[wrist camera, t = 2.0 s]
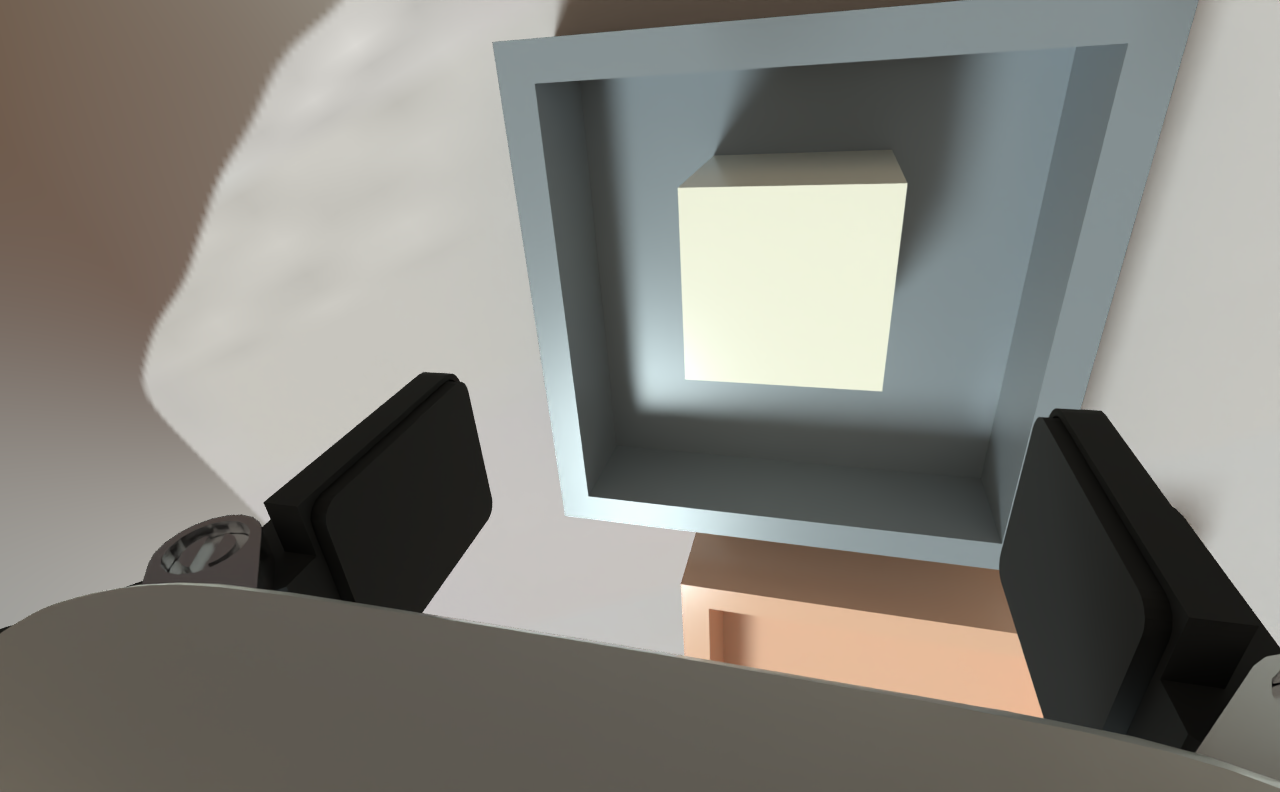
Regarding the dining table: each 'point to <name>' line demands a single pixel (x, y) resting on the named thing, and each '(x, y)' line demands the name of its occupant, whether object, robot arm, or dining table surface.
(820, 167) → the stone block
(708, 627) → the tub
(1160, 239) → the dining table surface
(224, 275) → the dining table surface
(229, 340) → the dining table surface
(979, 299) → the bin
